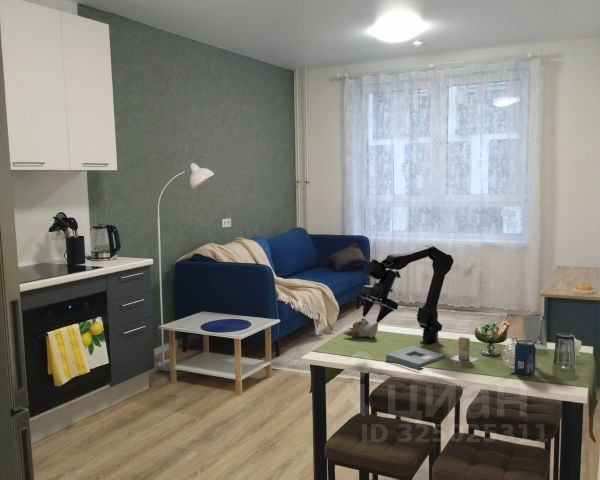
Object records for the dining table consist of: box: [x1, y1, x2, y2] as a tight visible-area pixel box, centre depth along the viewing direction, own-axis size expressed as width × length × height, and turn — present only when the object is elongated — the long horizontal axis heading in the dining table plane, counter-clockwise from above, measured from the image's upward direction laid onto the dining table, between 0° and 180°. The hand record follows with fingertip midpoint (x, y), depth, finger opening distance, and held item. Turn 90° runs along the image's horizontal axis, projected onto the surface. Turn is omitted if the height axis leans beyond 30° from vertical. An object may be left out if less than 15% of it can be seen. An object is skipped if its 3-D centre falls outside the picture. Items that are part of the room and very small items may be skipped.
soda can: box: [514, 339, 536, 378], centre depth 204 cm, size 7×7×12 cm
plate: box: [449, 354, 479, 365], centre depth 219 cm, size 8×8×2 cm
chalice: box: [521, 315, 544, 366], centre depth 215 cm, size 7×7×18 cm
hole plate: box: [385, 345, 446, 372], centre depth 221 cm, size 16×16×3 cm
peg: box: [458, 336, 471, 360], centre depth 218 cm, size 4×4×8 cm
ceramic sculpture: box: [342, 317, 379, 339], centre depth 255 cm, size 11×9×15 cm
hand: (370, 319), depth 229 cm, fingers open, 9 cm apart
